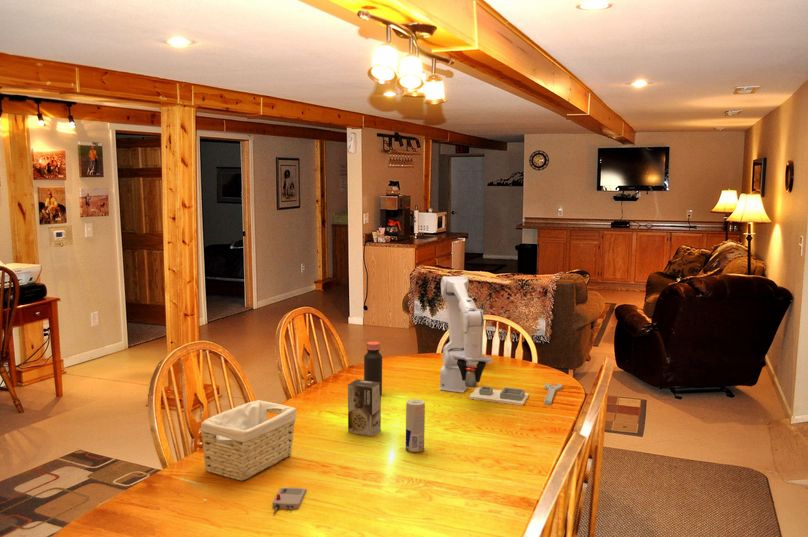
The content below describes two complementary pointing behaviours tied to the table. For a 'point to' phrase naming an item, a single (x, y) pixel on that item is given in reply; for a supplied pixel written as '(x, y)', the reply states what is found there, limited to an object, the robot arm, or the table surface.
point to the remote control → (289, 498)
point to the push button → (471, 376)
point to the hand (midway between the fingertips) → (471, 380)
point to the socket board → (500, 395)
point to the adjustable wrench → (551, 392)
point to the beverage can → (415, 425)
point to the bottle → (373, 363)
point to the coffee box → (364, 407)
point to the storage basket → (247, 439)
